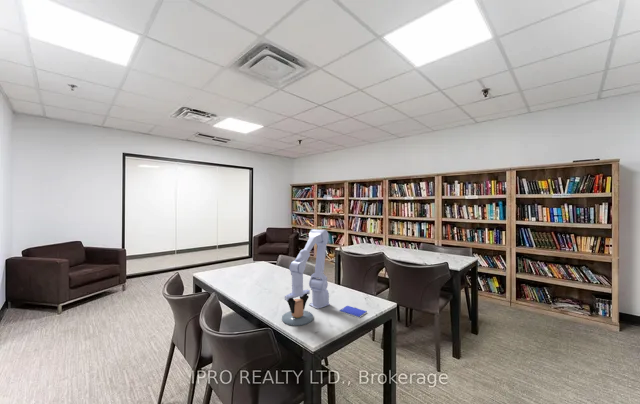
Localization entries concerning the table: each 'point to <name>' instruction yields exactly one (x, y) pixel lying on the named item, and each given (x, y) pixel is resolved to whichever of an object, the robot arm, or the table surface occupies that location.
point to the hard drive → (353, 311)
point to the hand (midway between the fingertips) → (297, 310)
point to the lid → (297, 319)
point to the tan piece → (298, 308)
